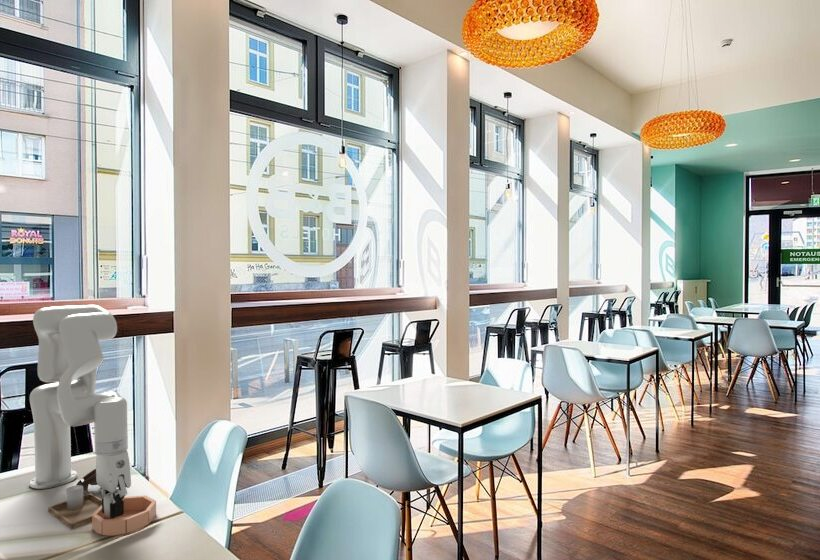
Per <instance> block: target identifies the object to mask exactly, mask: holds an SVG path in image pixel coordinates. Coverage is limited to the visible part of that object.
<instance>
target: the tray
mask: <svg viewBox="0 0 820 560" xmlns="http://www.w3.org/2000/svg"><path fill="white" fill-rule="evenodd" d="M83 496H84V506H83V507H82V508H80V509H78V510H74V511H68V510H67V500H66V501H63V502H60V503H57V504H54V505H52V506H49V507H47V511H48V513H49V514H51V515H52V516H53V517H54V518H56V519H58V520H59V521H60V522H61V523H63V524H64V525H66V526H67V527H68V528H70V529H71V530H72V529H73V530H74V529H75V528H78V527H81V526H84V525H87V524H88V523H92V514H93V513H94V512H95V511H96V510H97V509H98V508H99V507H100V506H101V505H102V498H100V497H98V496H97V495H95V494H94V493H92V492H90V493H87V494H85V495H84V494H83Z"/></svg>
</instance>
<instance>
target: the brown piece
mask: <svg viewBox="0 0 820 560" xmlns="http://www.w3.org/2000/svg"><path fill="white" fill-rule="evenodd" d="M82 479H83V480H81V479H80V480H79V481H77V483H76V485H75V486H77V485H82V486H83V492H87V493H88V492H89V489H88V488H89V486H99V485H98V484H97V481H96V468H95V469H93V470H91V471H89V472H88V473H87V474H85V475H84V476H83V477H82ZM116 489H117V488H115V490H116Z"/></svg>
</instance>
